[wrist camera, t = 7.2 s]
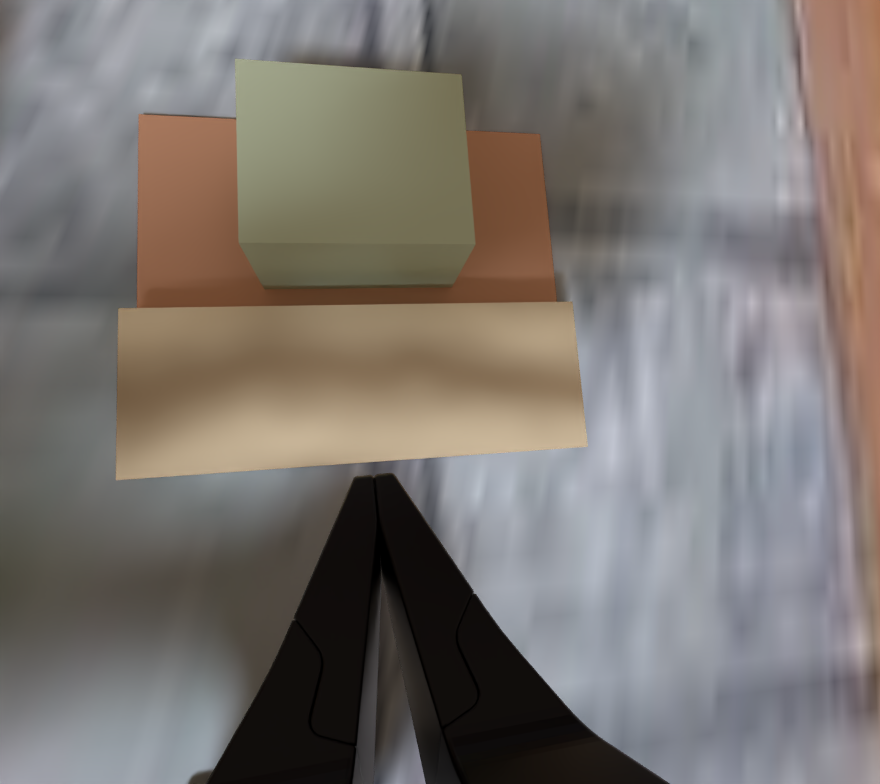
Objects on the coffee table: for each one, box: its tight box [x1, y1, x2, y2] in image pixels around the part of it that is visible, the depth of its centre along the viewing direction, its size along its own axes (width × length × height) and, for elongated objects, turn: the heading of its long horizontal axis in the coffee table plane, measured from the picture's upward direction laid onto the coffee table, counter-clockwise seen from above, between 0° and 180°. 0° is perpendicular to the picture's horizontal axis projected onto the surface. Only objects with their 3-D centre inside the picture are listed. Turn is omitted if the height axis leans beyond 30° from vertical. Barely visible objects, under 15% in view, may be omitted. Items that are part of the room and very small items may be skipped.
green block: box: [235, 59, 475, 289], centre depth 21 cm, size 5×9×8 cm
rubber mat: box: [137, 114, 557, 308], centre depth 24 cm, size 10×20×1 cm, turn 94°
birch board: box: [116, 302, 588, 480], centre depth 22 cm, size 7×20×2 cm, turn 94°
